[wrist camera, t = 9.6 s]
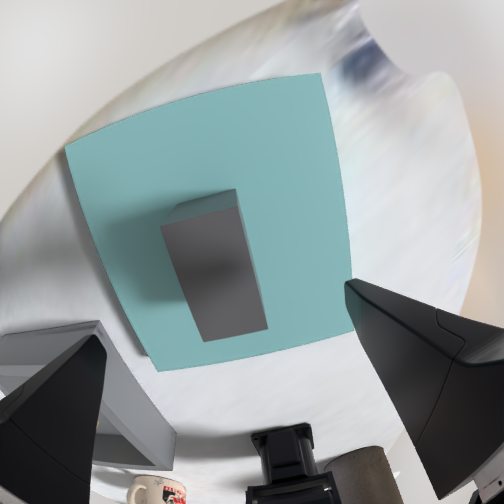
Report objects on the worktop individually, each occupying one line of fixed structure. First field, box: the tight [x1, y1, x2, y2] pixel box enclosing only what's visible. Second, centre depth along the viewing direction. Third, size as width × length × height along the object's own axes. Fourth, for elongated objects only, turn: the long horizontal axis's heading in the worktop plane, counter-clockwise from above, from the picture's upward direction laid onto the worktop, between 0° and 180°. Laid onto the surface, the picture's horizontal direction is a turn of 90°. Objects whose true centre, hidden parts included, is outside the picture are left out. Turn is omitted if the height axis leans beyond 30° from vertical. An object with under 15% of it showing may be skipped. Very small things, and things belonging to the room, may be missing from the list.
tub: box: [0, 320, 177, 471], centre depth 20 cm, size 16×14×5 cm
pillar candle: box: [325, 446, 404, 504], centre depth 25 cm, size 10×10×15 cm
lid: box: [64, 73, 354, 372], centre depth 15 cm, size 17×15×6 cm
